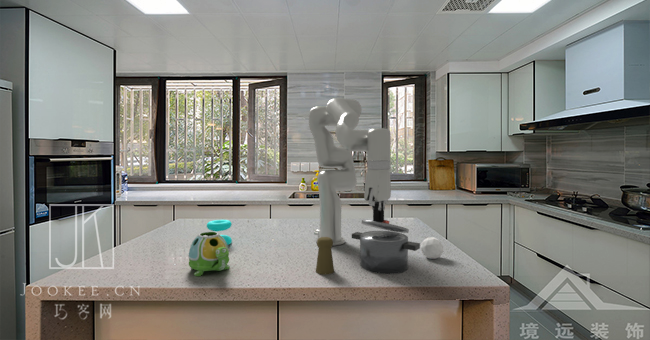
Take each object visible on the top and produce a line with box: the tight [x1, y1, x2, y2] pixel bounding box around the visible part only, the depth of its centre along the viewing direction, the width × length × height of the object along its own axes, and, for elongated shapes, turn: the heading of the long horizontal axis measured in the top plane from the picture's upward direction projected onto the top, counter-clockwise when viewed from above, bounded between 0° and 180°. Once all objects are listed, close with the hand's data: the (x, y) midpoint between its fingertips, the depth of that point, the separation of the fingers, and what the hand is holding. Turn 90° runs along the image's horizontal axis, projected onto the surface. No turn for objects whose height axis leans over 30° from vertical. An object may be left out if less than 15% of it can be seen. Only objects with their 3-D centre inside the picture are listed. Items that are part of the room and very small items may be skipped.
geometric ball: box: [420, 236, 444, 260], centre depth 111 cm, size 8×8×8 cm
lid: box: [360, 219, 410, 234], centre depth 104 cm, size 16×16×3 cm
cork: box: [315, 237, 335, 276], centre depth 98 cm, size 6×6×11 cm
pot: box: [351, 230, 421, 275], centre depth 104 cm, size 24×16×10 cm, turn 50°
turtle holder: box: [187, 230, 231, 277], centre depth 98 cm, size 12×18×12 cm
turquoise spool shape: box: [206, 219, 233, 246], centre depth 129 cm, size 10×10×10 cm
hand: (378, 221), depth 101 cm, fingers closed
